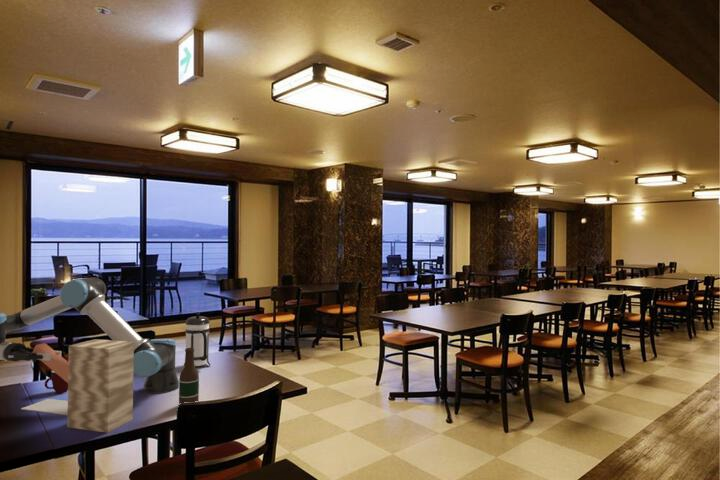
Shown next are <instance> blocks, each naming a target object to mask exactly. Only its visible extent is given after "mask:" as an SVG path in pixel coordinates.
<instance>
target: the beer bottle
mask: <svg viewBox="0 0 720 480" xmlns="http://www.w3.org/2000/svg"><path fill="white" fill-rule="evenodd" d="M184 352H185V354H184V363H185V365H184V364H183V368H182V369H181V371H180V374H179V378H178V380H179V387H178V389H179V390H178V405H179V404H180V403H184V402H195V401H198V402H199V398H200V393H199V390H200V389H199V388H200V384H199V382H200V377H199V372H198V370H197V368H196V366H195V365H194V348H187V349H186V348H185V350H184Z"/></svg>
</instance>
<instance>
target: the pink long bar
mask: <svg viewBox="0 0 720 480" xmlns="http://www.w3.org/2000/svg"><path fill="white" fill-rule="evenodd" d="M33 348H34V350H33V352H32V353H36V355H37V353H48V354H51V361H46V360H40V361H41V362H42V363H43V364H44V365H45V366H47V367H48V368H49V369H50V370H51V371H54V372H55V373H56V374H58V375H59V376H60V377H61V378H62V379H64V380H65V381H66V382H67V383H68V360H67V359H65V358H64V357H63V356H62V355H61V356H60V355H59V354H58V353H56V352H55V351H56V350H54V348H52V347H51V346H50V345H48V344H47V343H46V342H43V343H39V344H35V346H34V347H33Z"/></svg>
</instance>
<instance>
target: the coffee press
mask: <svg viewBox="0 0 720 480" xmlns="http://www.w3.org/2000/svg"><path fill="white" fill-rule="evenodd" d="M210 323H211V322H210V320H209V318H208V317H207V316H202V315H201V313H200V312H195V316H191V317H188V318H187V319H186V321H185V349H187V348H194V365H195V367H200V366H206V367H207V368H209V367H211V364H210V362H209V352H210V351H209V350H210V348H209V346H210V345H209V342H210ZM184 365H185V362H184V363H183V366H184Z"/></svg>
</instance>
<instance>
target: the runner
mask: <svg viewBox="0 0 720 480" xmlns="http://www.w3.org/2000/svg"><path fill="white" fill-rule="evenodd" d="M20 410H21V411H30V412H37V413H44V414H45V413H47V414H51V415H52V414H53V415H62V416H68V400H65V399H53V398H46V399H43V400H41V401H38V402H36V403H32V404H30V405H27V406H25V407H21V408H20Z"/></svg>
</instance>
